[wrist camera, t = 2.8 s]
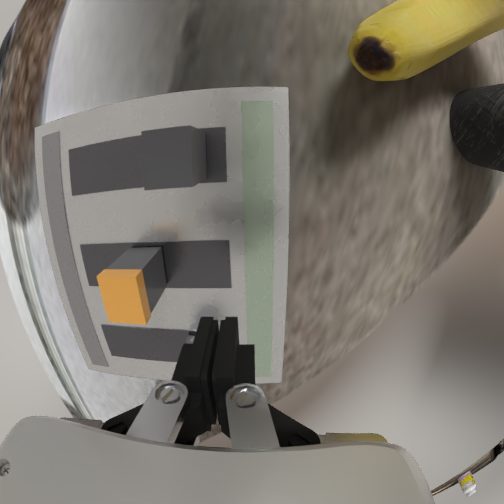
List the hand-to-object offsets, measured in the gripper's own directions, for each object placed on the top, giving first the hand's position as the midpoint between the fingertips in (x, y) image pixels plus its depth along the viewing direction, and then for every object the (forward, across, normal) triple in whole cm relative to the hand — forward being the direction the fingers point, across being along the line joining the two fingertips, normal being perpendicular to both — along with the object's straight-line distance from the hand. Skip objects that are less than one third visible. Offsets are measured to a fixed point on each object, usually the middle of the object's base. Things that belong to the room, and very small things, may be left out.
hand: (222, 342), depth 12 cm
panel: (+9, +6, -1) cm, 11 cm away
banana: (+9, -16, -21) cm, 28 cm away
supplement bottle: (+12, -92, +104) cm, 139 cm away
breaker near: (+7, +3, -8) cm, 11 cm away
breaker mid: (+8, +6, -1) cm, 10 cm away
